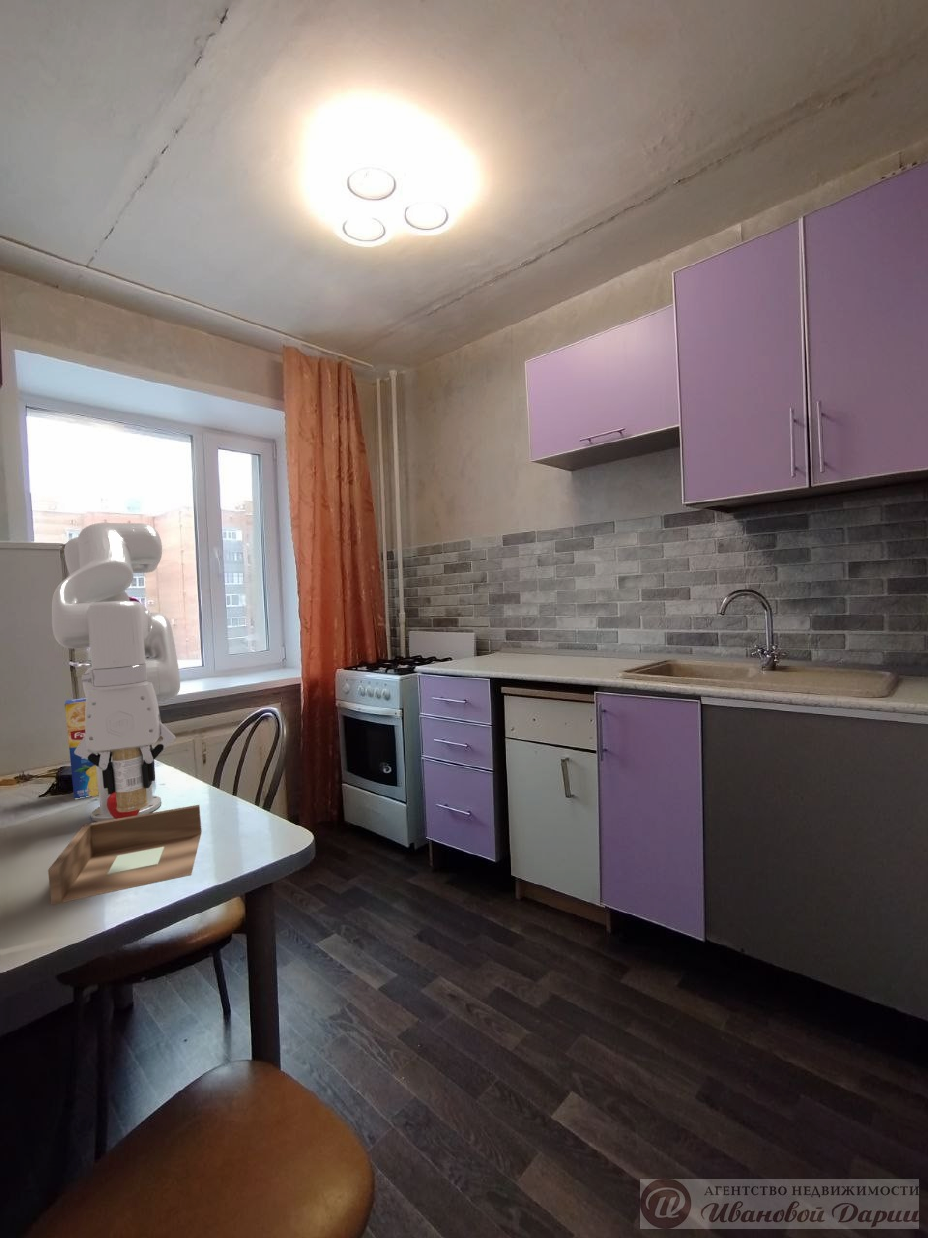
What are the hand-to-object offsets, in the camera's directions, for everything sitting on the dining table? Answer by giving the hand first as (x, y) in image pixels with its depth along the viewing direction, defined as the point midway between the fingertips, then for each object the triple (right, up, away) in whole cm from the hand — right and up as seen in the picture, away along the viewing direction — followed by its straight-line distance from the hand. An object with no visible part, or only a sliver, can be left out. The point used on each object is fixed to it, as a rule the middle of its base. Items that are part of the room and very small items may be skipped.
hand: (130, 787), depth 92 cm
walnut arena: (+1, -13, 0) cm, 13 cm away
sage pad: (+1, -12, +1) cm, 12 cm away
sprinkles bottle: (0, -4, 0) cm, 4 cm away
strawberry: (-10, -13, +17) cm, 24 cm away
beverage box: (-31, -13, +42) cm, 54 cm away
